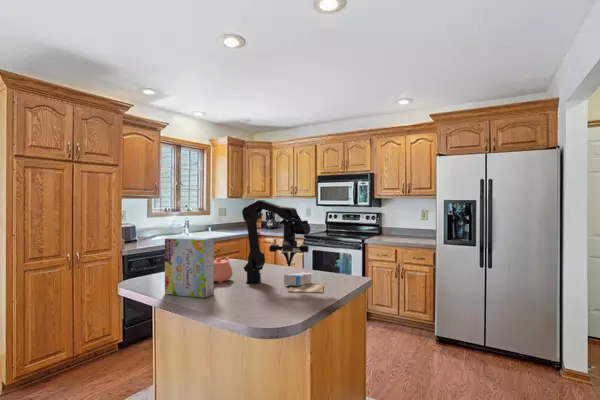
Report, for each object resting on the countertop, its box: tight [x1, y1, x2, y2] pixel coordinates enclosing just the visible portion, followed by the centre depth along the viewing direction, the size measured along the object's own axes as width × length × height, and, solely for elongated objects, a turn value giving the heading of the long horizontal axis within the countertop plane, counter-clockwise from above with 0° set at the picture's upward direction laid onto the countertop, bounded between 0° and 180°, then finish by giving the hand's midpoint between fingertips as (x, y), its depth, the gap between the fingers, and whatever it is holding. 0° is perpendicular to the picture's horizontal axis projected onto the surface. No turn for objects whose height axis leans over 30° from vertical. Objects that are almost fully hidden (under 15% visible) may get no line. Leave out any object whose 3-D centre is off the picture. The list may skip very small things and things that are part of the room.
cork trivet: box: [287, 283, 324, 294], centre depth 161 cm, size 16×13×1 cm
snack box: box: [164, 236, 215, 299], centre depth 152 cm, size 22×9×26 cm, turn 71°
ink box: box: [283, 271, 315, 286], centre depth 170 cm, size 8×5×15 cm
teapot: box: [214, 256, 233, 284], centre depth 178 cm, size 13×20×12 cm, turn 164°
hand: (289, 266), depth 162 cm, fingers closed
